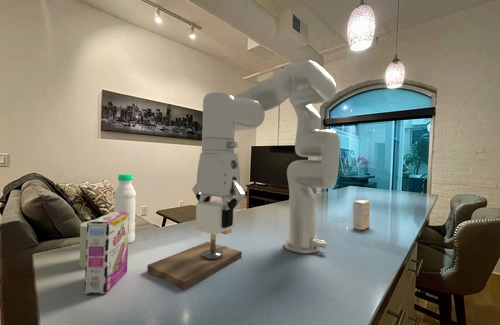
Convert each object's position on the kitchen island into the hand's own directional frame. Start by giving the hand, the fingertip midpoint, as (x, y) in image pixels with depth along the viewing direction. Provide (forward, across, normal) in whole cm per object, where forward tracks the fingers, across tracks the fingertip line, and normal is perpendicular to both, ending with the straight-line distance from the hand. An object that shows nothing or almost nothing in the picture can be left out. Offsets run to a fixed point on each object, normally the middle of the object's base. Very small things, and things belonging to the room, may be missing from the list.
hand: (216, 223), depth 54 cm
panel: (+16, +14, -8) cm, 22 cm away
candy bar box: (+16, +24, +12) cm, 32 cm away
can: (+16, +39, +8) cm, 43 cm away
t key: (+14, +11, -11) cm, 21 cm away
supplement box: (+16, -20, -81) cm, 85 cm away
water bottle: (+16, +49, -5) cm, 52 cm away
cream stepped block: (+1, 0, -2) cm, 2 cm away
